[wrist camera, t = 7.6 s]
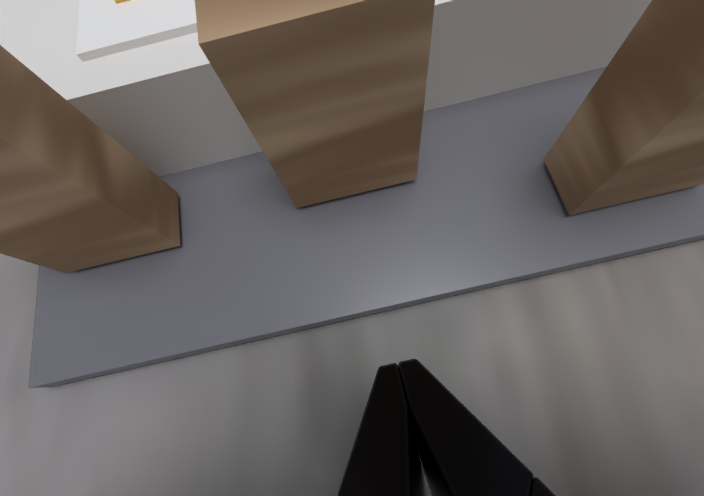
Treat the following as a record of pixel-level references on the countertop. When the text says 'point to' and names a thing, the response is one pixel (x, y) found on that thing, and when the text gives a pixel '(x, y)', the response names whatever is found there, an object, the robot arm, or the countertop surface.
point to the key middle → (325, 86)
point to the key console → (333, 215)
